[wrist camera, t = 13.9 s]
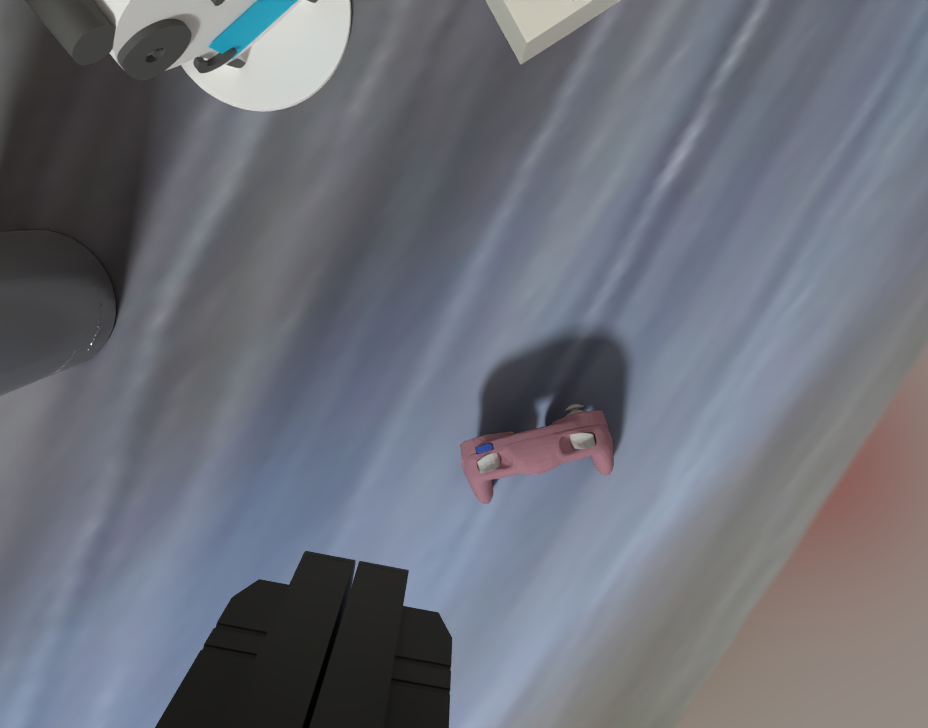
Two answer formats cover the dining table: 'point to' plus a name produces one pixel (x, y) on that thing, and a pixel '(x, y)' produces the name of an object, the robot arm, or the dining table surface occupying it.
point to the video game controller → (537, 450)
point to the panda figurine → (211, 42)
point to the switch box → (542, 21)
